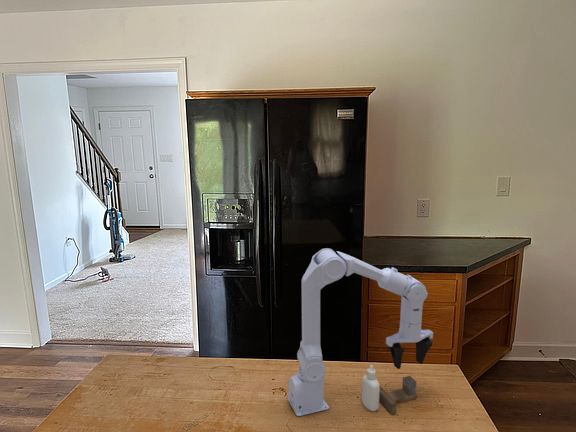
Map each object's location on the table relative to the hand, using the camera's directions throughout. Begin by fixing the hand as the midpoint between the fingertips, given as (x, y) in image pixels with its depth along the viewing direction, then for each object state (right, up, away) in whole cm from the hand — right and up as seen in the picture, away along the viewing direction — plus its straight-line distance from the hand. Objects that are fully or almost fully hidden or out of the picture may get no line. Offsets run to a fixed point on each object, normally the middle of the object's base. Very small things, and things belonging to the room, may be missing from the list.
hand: (408, 364), depth 111 cm
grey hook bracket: (-3, -10, 0) cm, 10 cm away
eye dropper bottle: (-12, -10, -3) cm, 16 cm away
